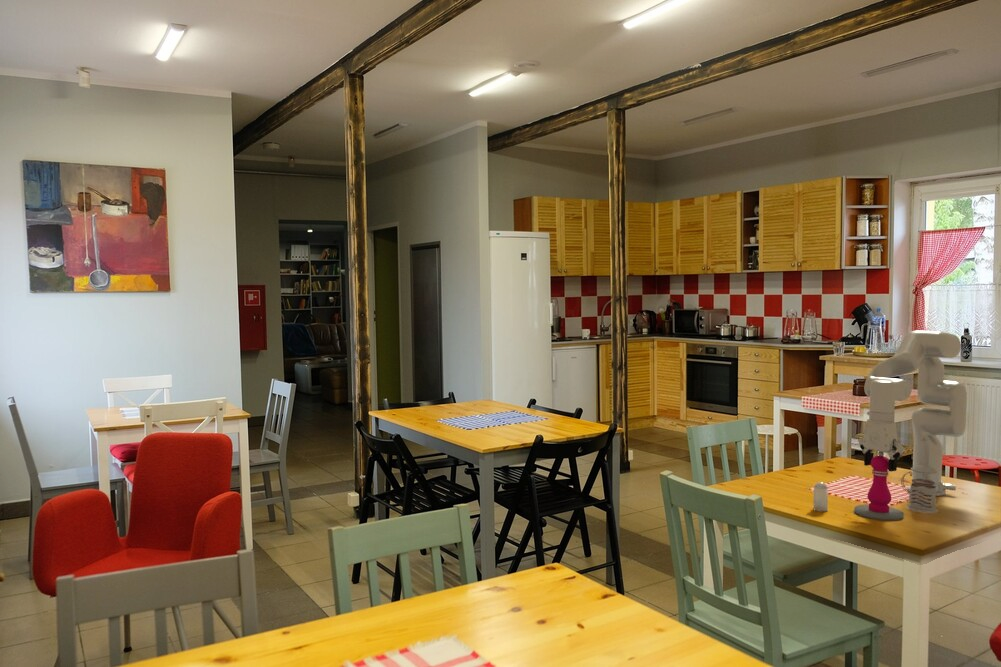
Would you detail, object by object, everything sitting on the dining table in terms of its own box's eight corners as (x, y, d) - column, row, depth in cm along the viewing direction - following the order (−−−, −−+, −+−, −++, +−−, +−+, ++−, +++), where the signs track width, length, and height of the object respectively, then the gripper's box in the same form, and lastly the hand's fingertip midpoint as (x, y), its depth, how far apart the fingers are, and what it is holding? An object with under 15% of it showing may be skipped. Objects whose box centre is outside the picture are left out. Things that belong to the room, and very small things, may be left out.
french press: (934, 514, 258) (937, 441, 256) (897, 508, 266) (899, 436, 264) (941, 509, 265) (944, 437, 264) (905, 502, 273) (907, 433, 272)
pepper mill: (893, 510, 258) (896, 451, 257) (886, 514, 253) (889, 454, 252) (871, 506, 263) (873, 448, 262) (863, 510, 258) (866, 451, 257)
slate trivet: (902, 511, 262) (902, 507, 262) (904, 522, 248) (905, 519, 248) (854, 505, 268) (854, 502, 268) (853, 516, 254) (854, 513, 254)
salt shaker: (827, 508, 264) (827, 481, 264) (827, 511, 260) (827, 484, 260) (813, 507, 266) (814, 480, 265) (813, 510, 262) (813, 482, 261)
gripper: (852, 414, 263) (850, 463, 264) (897, 421, 247) (895, 474, 248) (867, 412, 266) (865, 461, 267) (912, 420, 250) (911, 472, 251)
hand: (880, 467), depth 257 cm, fingers open, 9 cm apart
